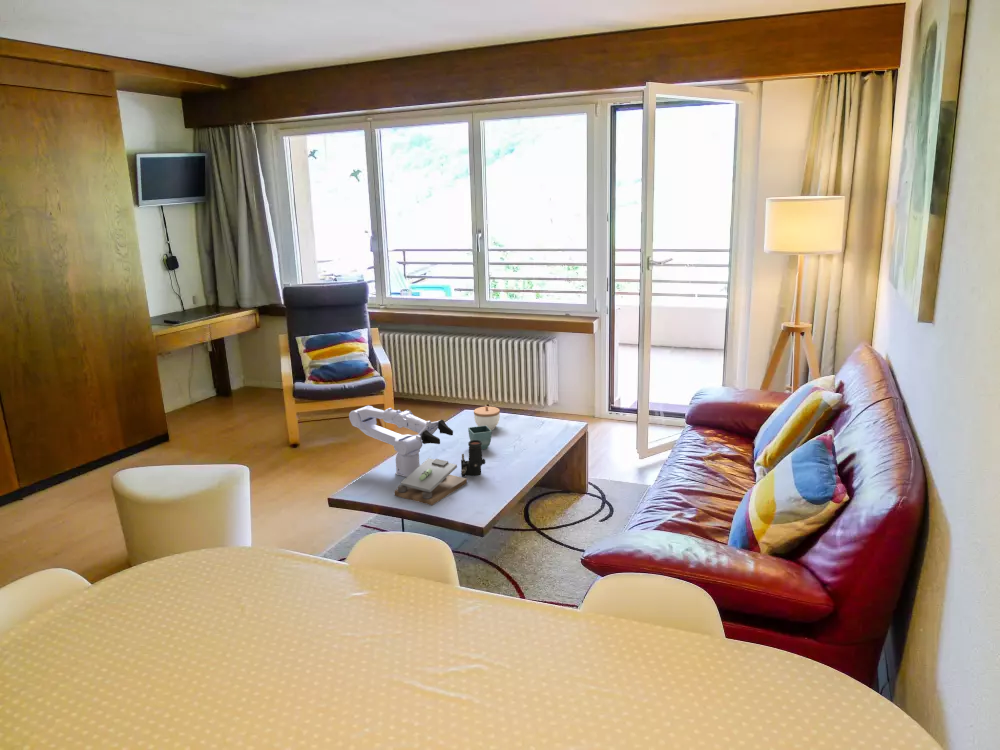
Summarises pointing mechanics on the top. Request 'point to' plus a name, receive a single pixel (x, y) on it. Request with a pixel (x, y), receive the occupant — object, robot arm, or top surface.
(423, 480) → the level plate
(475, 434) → the flower pot
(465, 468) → the scope
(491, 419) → the lidded bowl
